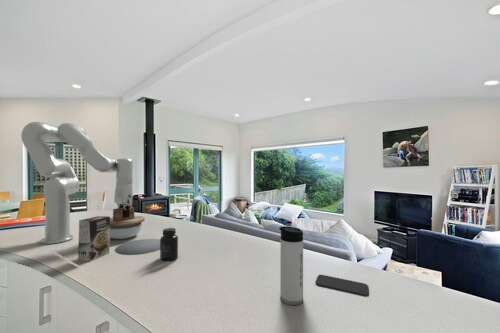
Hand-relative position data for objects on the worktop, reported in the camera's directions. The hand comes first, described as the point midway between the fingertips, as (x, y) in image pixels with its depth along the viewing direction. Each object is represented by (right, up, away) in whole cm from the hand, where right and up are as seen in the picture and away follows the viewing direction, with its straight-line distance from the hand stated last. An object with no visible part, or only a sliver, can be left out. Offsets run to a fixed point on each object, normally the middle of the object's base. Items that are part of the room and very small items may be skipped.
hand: (123, 216), depth 120 cm
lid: (0, -3, 0) cm, 3 cm away
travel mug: (+78, -11, -56) cm, 97 cm away
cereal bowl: (0, -11, 0) cm, 11 cm away
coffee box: (+3, -11, -27) cm, 30 cm away
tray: (+17, -11, -15) cm, 25 cm away
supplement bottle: (+34, -11, -29) cm, 46 cm away
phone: (+95, -11, -49) cm, 107 cm away
